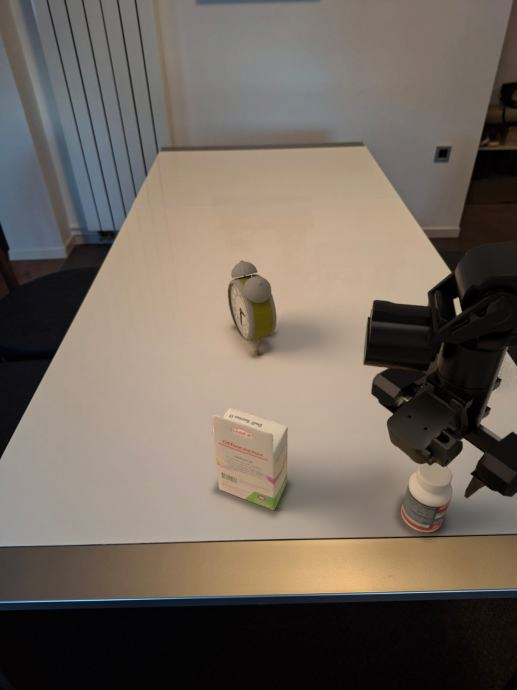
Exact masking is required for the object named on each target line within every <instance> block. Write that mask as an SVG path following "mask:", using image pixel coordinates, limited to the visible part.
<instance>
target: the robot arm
mask: <svg viewBox="0 0 517 690" xmlns="http://www.w3.org/2000/svg"><path fill="white" fill-rule="evenodd" d="M426 294H427V301H428V302H427V305H422V304H421V305H419V304H408V303H399V302H392V301H389V300H382V299H374V300H373V301H372V306H371V309H370V313H369V316H367V319H366V327H365V336H364V345H363V346H364V347H363V356H362V358H363V359H362V365H363V366H367V367H375V368H385V369H383V370H381V371H380V372H378V373H376V374H375V376H374V377H373V378H372V383H371V388H370V395H372V396H373V397H374V398H376V399H377V401H378V404H380V406H382V407H384V409H386V410H387V411H389V413H391V414H392V415H390V416H389V418H388V419H387V420H386V428H387V431H388V437H389V441H390V443H391V444H392V445H393V446H395V447H397V448H398V449H399V450H400V451H401V452H402V453H404V454H405V455H406V456H407V457H409V459H410V460H411V461H413V462H414V463H415V464H418V465H420V464H425V463H427V464H428V465H429V466H431V465H433V464H434V463H438V464H439V465H440V466H441V467H446V466H449V464H451V463H452V462H453V461H454V460H455V459H456V458H457V457H458V456H459V455H460V454H461V453H462V451H463V450H464V443H463V440H465V441H467V442H468V443H469V444H471V445H473V447H475V448H476V449H478V450H479V451H480V452H482V453H483V454H482V456H480V458H479V460H478V461H477V462H476V466H475V469H474V470H472V471H471V472H470V476H471V480H470V481H469V483H468V484H467V487H466V489H465V491H464V498H465V499H469V498H470V497H471V496H473V495H474V494H475V493H477V492H478V491H479V490H480V489H482V488H484V487H486V488H487V489H489V490H490V491H492V492H496V493H499V495H501V496H502V497H507V498H513V497H514V496H515V495H516V494H517V433H516V432H514V431H511V432H509V433H508V434H507V435H505V436H504V437H503V438H502V437H500V436H499V435H498V434H496V433H495V432H493V431H492V430H491V429H489V428H487V427H486V426H485V425H483V424H481V423H482V420H484V419H485V418H487V417H488V416H490V413H491V410H492V408H491V407H490V406H489V405H488V404H489V401H490V398H491V396H492V393H493V392H494V391H496V390H497V389H498V388H500V386H501V383H502V380H503V379H502V378H500V377H499V374H500V372H501V368H502V365H503V363H504V360H505V358H506V354H507V352H508V349H509V348H517V240H511V241H501V242H489V243H482V244H480V245H477V246H474V247H472V248H470V249H469V250H467V251H466V252H465V254H464V255H463V257H462V258H461V259H460V260H459V262H458V263H457V265H456V268H455V269H454V270H453V271H451V272H450V273H449V274H447V276H446V277H444V278H443V279H441V280H440V281H439V282H438V283H437V284H435V285H434V286H433V287H431V289H429V290H428V291H427V293H426ZM456 299H458V302H459V306H460V311H461V312H460V313H458V314H457V310H456V304H455V300H456ZM439 343H442V346H441V349H440V353H439V357H438V361H437V365H436V369H435V371H434V372H433V373H431V374H429V375H427V374H426V373H424V372H423V371H428V369H429V366H430V363H431V362H432V363H434V361H435V359H436V356H437V351H438V346H439Z"/></svg>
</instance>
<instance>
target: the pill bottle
mask: <svg viewBox="0 0 517 690" xmlns="http://www.w3.org/2000/svg"><path fill="white" fill-rule="evenodd" d="M452 481H453V473H452V470H451V469H450V467H449V465H447V466H446V467H441V466H440V465H439V464H438V463H434V464H433V465H431V466H429V465H428V464H427V463H425V464H418V467H417V469H416V471H414V472H413V473H412V474H411V475H410V477H409V479H408V482H407V483H408V484H407V487H406V491H405V494H404V498H403V500H402V504H401V508H400V514H401V517H402V519H403V521H404V522H405V524H406V525H408V526H409V527H410V528H411V529H413V530H415V531H418V532H421V533H432V532H435V531H437V530H438V529H439V528H440V527H441V525H442V524H443V521H444V518H445V516H446V513H447V510H448V509H449V505H450V503H451V500H452V497H453V486H452Z"/></svg>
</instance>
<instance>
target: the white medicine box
mask: <svg viewBox="0 0 517 690" xmlns="http://www.w3.org/2000/svg"><path fill="white" fill-rule="evenodd" d="M212 428H213V431H212V438H213V445H214V454H215V463H216V472H217V482H218V483H217V485H218V489H219V490H221V492H222V491H223V492H226V493H228V494H230V495H232V496H235V497H238V498H241V499H243V500H246V501H249V502H251V503H253V504H256V505H259V506H261V507H263V508H266V509H268V510H270V511H275V510H276V509H277V506H278V504H279V502H280V499H281V497H282V495H283V494H284V491H285V488H286V487H287V483H288V447H289V446H288V444H289V443H288V441H289V440H288V433H289V432H288V431H289V430H288V429H289V427H288V425H285V424H282V423H279V422H275V421H272V420H269V419H266V418H264V417H260V416H257V415H253V414H250V413H247V412H244V411H242V410H239V409H235V408H233V407H229V408H228V409H227V411H226V412H225V414H224V415H223V416H220V415H216V414H213V415H212Z"/></svg>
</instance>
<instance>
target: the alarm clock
mask: <svg viewBox="0 0 517 690" xmlns="http://www.w3.org/2000/svg"><path fill="white" fill-rule="evenodd" d="M257 273H259V272H258V269H257V267H256V266H255V265H254V264H253V263H252V262H250V261H244V260H243V259H241V260H240V261H239V262H238V263H236V264H235V265H234V266H233V268H232V269H231V273H230V275H231V276H230V277H231V280H230V281H229V282H228V287H227V300H228V307H229V312H230V316H231V320H232V322H233V324H234V327H235V329H236V331H237V333H238V335H239V336H240V337H241V338H242V340H244V341H247V342H251V345H252V349H253V352H254V355H259V354H260V342H261V339H262V338H265V337H268V336H270V335H273V333H274V332H275V330H276V327H277V309H276V304H275V300H274V297H273V296H274V295H273V293H272V286H271V284H270V282H269V281H268V279H266V278H265V277H263V276H262V275H260V274H257Z"/></svg>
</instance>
